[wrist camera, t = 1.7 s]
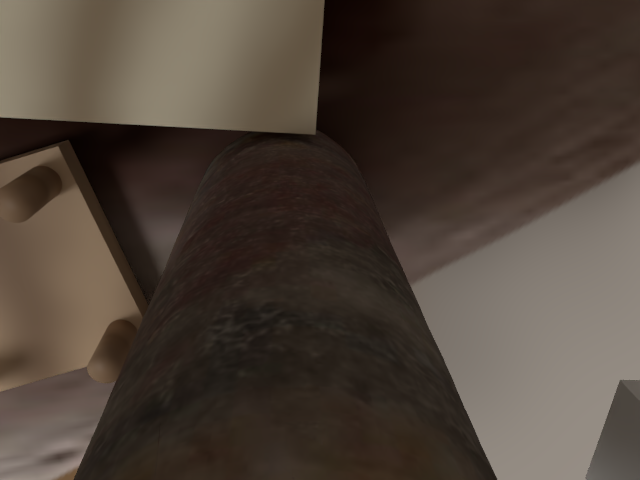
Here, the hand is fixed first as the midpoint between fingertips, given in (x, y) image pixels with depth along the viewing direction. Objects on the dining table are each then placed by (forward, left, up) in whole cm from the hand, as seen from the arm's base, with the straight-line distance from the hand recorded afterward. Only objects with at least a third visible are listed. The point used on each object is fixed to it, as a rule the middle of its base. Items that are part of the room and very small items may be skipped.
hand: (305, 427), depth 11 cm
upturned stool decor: (-12, -4, -14) cm, 19 cm away
